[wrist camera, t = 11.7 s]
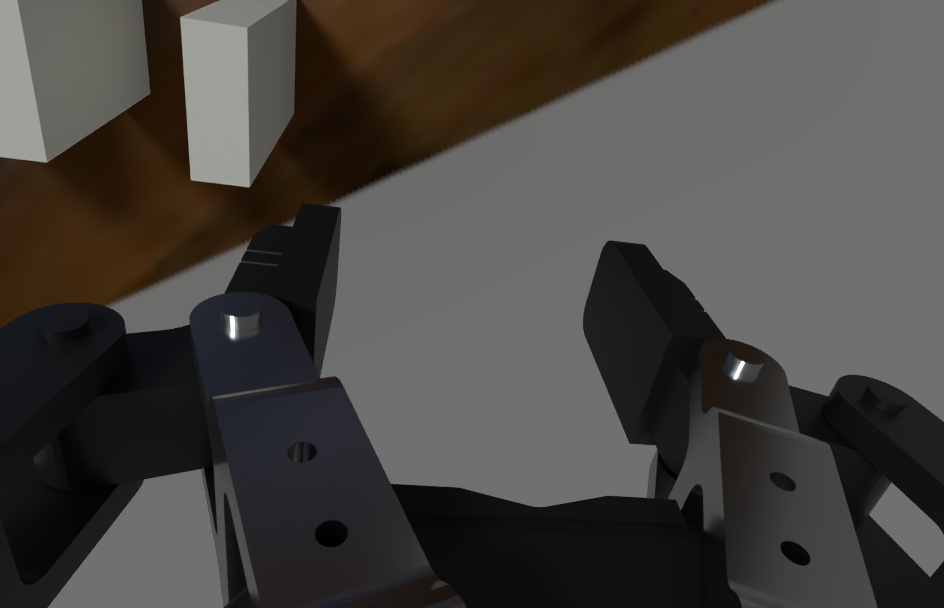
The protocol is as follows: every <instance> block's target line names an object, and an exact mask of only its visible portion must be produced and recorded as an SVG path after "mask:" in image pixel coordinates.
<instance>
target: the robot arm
mask: <svg viewBox="0 0 944 608" xmlns="http://www.w3.org/2000/svg"><path fill="white" fill-rule="evenodd" d="M340 225H341V208H340V207H332V206H323V205H315V204H307V203H302V204H301V207H300V209H299V212H298V214H297V217H296V220H295V222H294V225H293V227H290V226H281V225H272V224H271V225H269V226H268V227H266V228H265V229H263V230H261V231H260V232H258V233H256V234H255V235H254V236H253V238H252V240H251V242H250V244H249V246H248V248H247V251H246V252H245V254H244V256H243V257H242V260H241V263H239V266H238V267H237V269H236V272H235V273H234V276H233V278H232V279H231V281H230V283H229V285H228V287H227V289H226V291H225V293H224V294H221V295H217V296H214V297H211V298H208V299H206V300H204V301H202V302H201V303H199V304H198V305H197V306H196V307H195V308H194V309H193V310H192V312H191V314H190V317H189V318H190V319H189V320H190V325H187V326H183V327H180V328H175V329H169V330H161V331H151V332H140V333H129V334H126V329H125V322H124V320H123V318H122V316H121V315H120V314H119V313H117V312H116V311H114V310H113V309H110V308H108V307H105V306H102V305H97V304H91V303H64V304H56V305H50V306H46V307H42V308H38V309H36V310H33V311H30V312H27V313H25V314H23V315H21V316H19V317H17V318H16V319H14V320H13V321H11V322H10V323H8V324H7V325H5V326H4V327H2V328H1V329H0V608H47V607H48V606H49V605H50V604H51V602H52V601H53V600H54V598H55V597H56V596H57V595H58V593H59V592H60V591H61V589H62V588H63V587H64V586H65V584H66V583H67V582H68V580H69V579H70V578H71V576H72V575H73V574H74V573H75V571H76V570H77V569H78V567H79V566H80V565H81V564H82V562H83V561H84V560H85V558H86V557H87V556H88V555H89V553H90V552H91V551H92V549H93V548H94V547H95V546H96V544H97V543H98V541H99V540H100V539H101V538H102V536H103V535H104V534H105V533H106V531H107V530H108V529H109V527H110V526H111V525H112V524H113V522H114V521H115V520H116V518H117V517H118V516H119V515H120V513H121V512H122V511H123V509H124V508H125V507H126V506H127V504H128V503H129V502H130V500H131V499H132V498H133V496H134V495H135V494H136V493H137V491H138V490H139V488H140V487H141V485H142V483H143V481H144V479H148V478H153V477H159V476H165V475H170V474H176V473H181V472H186V471H192V470H197V469H201V472H202V477H203V482H204V488H205V493H206V498H207V504H208V510H209V515H210V520H211V526H212V531H213V537H214V542H215V547H216V553H217V559H218V566H219V574H220V582H221V591H222V599H223V606H224V608H944V561H943V563H942V564H941V565H940V566H939V568H938V569H937V570H936V571H935V572H934V573H933V575H932V576H931V577H929V576H928V575H927V574H926V573H925V572H924V571H923V570H922V569H921V568H920V567H919V566H918V565H917V564H916V563H915V561H914V560H913V559H911V557H909V556H908V554H907V553H906V552H905V551H904V550H903V549H902V548H901V547H900V546H898V544H897V543H896V542H895V541H894V540H893V539H892V538H891V537H890V536H889V535H888V534H887V533H886V532H885V531H884V530H883V529H882V528H881V527H880V526H879V525H878V524H877V523H876V522H875V521H874V520H873V519H872V518H871V517H870V516H869V513H870V512H871V511H872V509H873V508H874V506H875V505H876V503H877V502H878V501H879V499H880V498H881V497H882V495H883V494H884V492H885V491H886V489H887V488H888V487H889V485H890V484H891V482H892V483H893V484H894V485H895V486H896V487H897V488H899V489H900V490H901V491H902V492H903V493H904V494H905V495H906V496H907V497H908V498H909V499H910V500H911V501H913V502H914V503H915V504H916V505H917V506H918V507H919V508H920V509H921V510H922V511H923V512H924V513H925V514H926V515H928V516H929V517H930V518H931V519H932V520H933V521H934V522H935V523H936V524H937V525H938V526H939V528H940V529H941V531H942V532H943V534H944V422H943V421H942V420H940V419H939V418H938V417H937V416H935V415H934V414H933V413H931V412H930V411H929V410H928V409H926V408H925V407H924V406H922V405H921V404H919V403H918V402H917V401H916V400H914V399H913V398H912V397H910V396H909V395H907V394H906V393H904V392H903V391H901V390H899V389H897V388H895V387H893V386H891V385H889V384H887V383H885V382H882V381H879V380H877V379H873V378H870V377H866V376H860V375H846V376H843V377H841V378H839V380H838V381H837V383H836V384H835V386H834V388H833V390H832V391H831V393H830V395H829V396H824V395H821V394H817V393H814V392H810V391H807V390H803V389H799V388H796V387H792V386H789V385H788V381H787V377H786V374H785V371H784V370H783V368H782V367H781V366H780V365H779V363H778V362H777V361H775V360H774V359H773V358H772V357H770V356H769V355H768V354H766V353H764V352H763V351H761V350H759V349H757V348H755V347H753V346H750V345H748V344H745V343H742V342H739V341H735V340H730V339H726V338H725V336H724V335H723V334H722V332H721V331H720V330H719V329H718V327H717V326H716V324H715V323H714V322H713V320H712V319H711V318H710V317H709V315H708V314H707V313H706V312H704V309H703V307H702V306H701V305H700V303H699V302H698V300H695V296H694V295H693V294H692V292H691V291H690V290H689V288H688V287H687V286H686V285H685V284H684V283H683V282H682V281H681V280H679V279H678V278H676V277H675V276H674V275H672V274H671V273H669V272H668V271H667V270H663V269H662V267H661V266H660V265H659V263H658V262H657V260H656V259H655V258H654V256H653V255H652V253H651V252H650V250H649V249H648V248H647V247H646V245H643V244H634V243H626V242H617V241H608V242H607V243H606V244H605V246H604V247H603V249H602V252H601V255H600V258H599V261H598V265H597V268H596V271H595V275H594V278H593V281H592V285H591V288H590V291H589V295H588V298H587V301H586V305H585V309H584V315H583V316H584V317H583V329H584V334H585V337H586V340H587V342H588V344H589V347H590V349H591V352H592V354H593V356H594V359H595V361H596V364H597V366H598V368H599V371H600V373H601V376H602V378H603V380H604V383H605V385H606V388H607V390H608V393H609V395H610V397H611V400H612V402H613V405H614V407H615V409H616V412H617V414H618V417H619V419H620V421H621V424H622V426H623V429H624V431H625V433H626V436H627V438H628V441H629V443H630V444H644V445H656V447H657V451H656V453H655V456H654V458H653V460H652V463H651V465H650V469H649V480H648V492H647V498H638V497H637V498H636V497H619V496H604V497H599V498H593V499H587V500H582V501H576V502H570V503H565V504H560V505H553V506H548V507H532V506H527V505H524V504H520V503H516V502H512V501H508V500H504V499H500V498H496V497H493V496H489V495H485V494H481V493H477V492H474V491H470V490H466V489H462V488H455V487H436V486H418V485H401V484H400V485H399V484H390V482H389V480H388V478H387V476H386V474H385V471H384V470H383V467H382V465H381V463H380V461H379V459H378V457H377V455H376V453H375V451H374V449H373V447H372V445H371V442H370V440H369V438H368V436H367V434H366V432H365V430H364V428H363V426H362V424H361V422H360V420H359V418H358V416H357V414H356V412H355V409H354V407H353V405H352V403H351V401H350V399H349V397H348V395H347V393H346V391H345V389H344V387H343V385H342V383H341V381H340V380H339V379H338V378H337V377H327V378H321V379H320V374H321V369H322V365H323V360H324V355H325V350H326V345H327V340H328V335H329V330H330V325H331V320H332V315H333V310H334V304H335V296H336V286H337V273H338V257H339V256H338V255H339V241H340Z"/></svg>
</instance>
